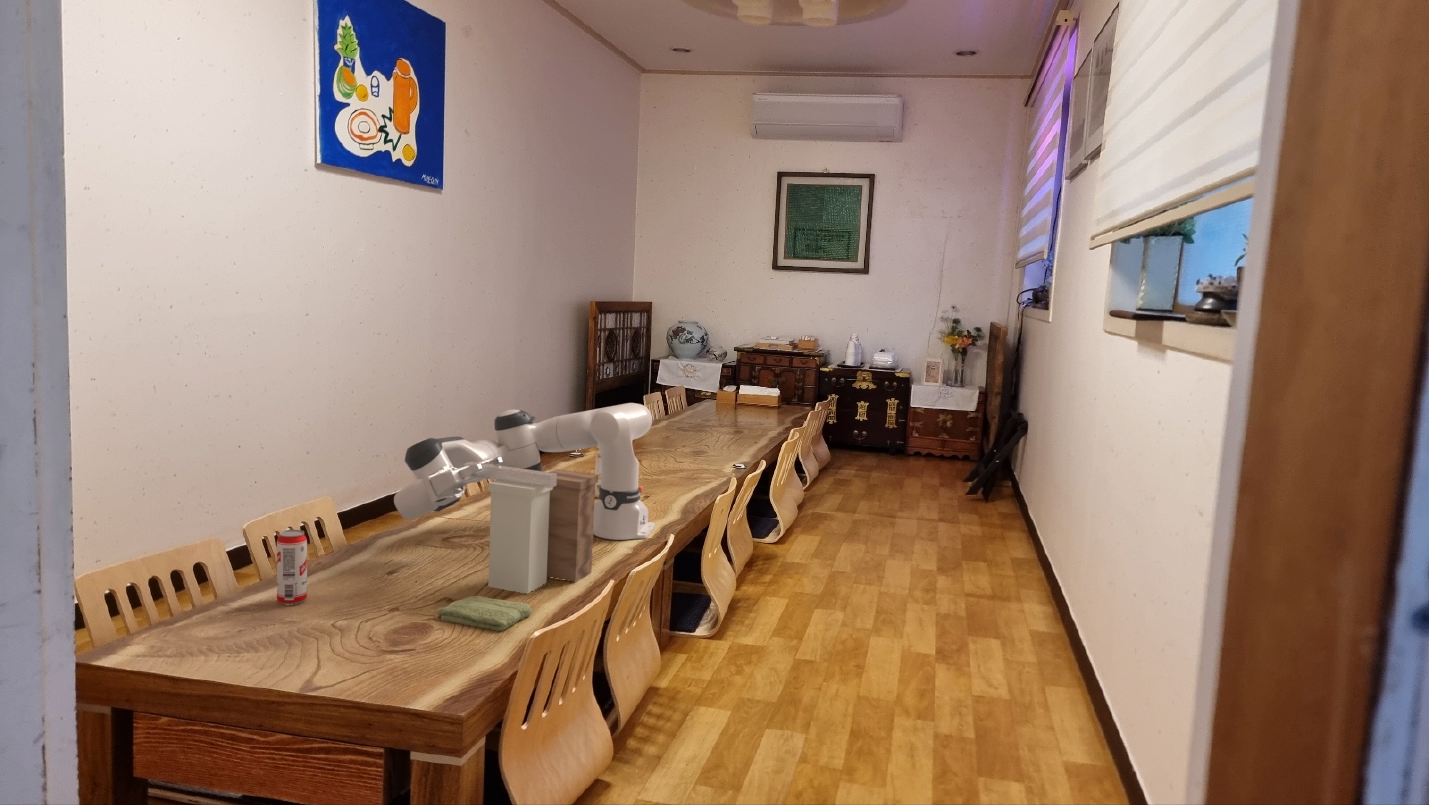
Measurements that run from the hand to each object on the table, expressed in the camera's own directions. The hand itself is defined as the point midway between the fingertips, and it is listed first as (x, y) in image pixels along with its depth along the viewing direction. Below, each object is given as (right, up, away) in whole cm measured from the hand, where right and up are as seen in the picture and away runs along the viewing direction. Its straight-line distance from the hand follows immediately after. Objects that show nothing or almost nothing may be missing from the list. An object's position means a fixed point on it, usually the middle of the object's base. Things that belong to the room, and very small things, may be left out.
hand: (490, 462), depth 235 cm
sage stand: (+6, -30, +1) cm, 31 cm away
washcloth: (+4, -34, -20) cm, 40 cm away
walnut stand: (+16, -29, +12) cm, 36 cm away
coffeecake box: (+17, -17, +102) cm, 105 cm away
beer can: (-40, -30, -18) cm, 54 cm away
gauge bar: (+5, -4, -1) cm, 7 cm away
